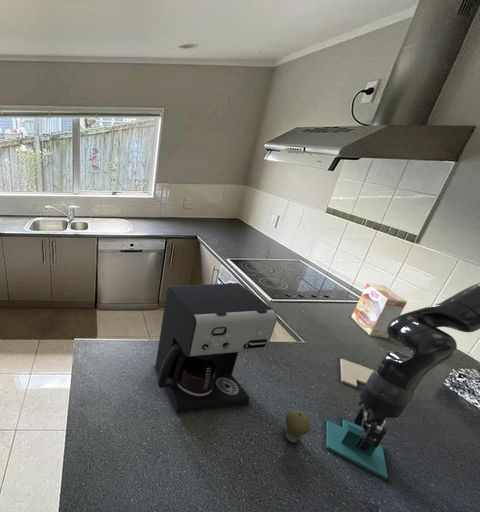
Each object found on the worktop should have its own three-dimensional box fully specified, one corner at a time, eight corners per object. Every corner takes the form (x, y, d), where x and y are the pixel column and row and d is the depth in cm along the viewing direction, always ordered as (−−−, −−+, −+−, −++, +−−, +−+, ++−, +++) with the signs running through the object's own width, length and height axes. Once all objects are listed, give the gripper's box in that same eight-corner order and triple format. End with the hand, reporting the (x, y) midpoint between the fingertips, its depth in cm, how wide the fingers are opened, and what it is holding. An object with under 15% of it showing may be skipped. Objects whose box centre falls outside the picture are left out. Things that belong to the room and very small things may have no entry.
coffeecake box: (349, 317, 137) (366, 282, 130) (367, 320, 135) (384, 285, 128) (368, 336, 124) (387, 298, 116) (387, 339, 122) (408, 301, 114)
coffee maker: (164, 418, 83) (182, 320, 70) (143, 369, 101) (155, 283, 87) (248, 408, 87) (281, 314, 74) (215, 362, 105) (236, 280, 92)
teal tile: (378, 439, 79) (388, 424, 77) (385, 481, 69) (397, 464, 67) (326, 415, 86) (333, 400, 84) (325, 449, 76) (334, 433, 74)
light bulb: (274, 434, 80) (284, 409, 76) (286, 427, 82) (297, 403, 78) (293, 453, 75) (305, 427, 71) (306, 445, 77) (318, 420, 73)
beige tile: (389, 379, 101) (390, 376, 100) (395, 405, 90) (397, 402, 90) (339, 361, 108) (341, 358, 108) (340, 383, 98) (342, 380, 98)
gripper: (414, 421, 61) (382, 467, 67) (402, 381, 71) (375, 425, 78) (369, 402, 65) (342, 447, 71) (363, 367, 76) (341, 409, 82)
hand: (359, 435), depth 75 cm, fingers open, 8 cm apart
